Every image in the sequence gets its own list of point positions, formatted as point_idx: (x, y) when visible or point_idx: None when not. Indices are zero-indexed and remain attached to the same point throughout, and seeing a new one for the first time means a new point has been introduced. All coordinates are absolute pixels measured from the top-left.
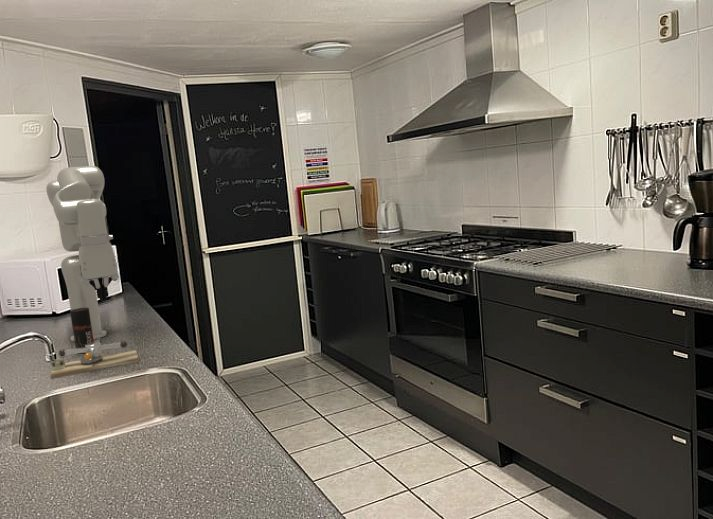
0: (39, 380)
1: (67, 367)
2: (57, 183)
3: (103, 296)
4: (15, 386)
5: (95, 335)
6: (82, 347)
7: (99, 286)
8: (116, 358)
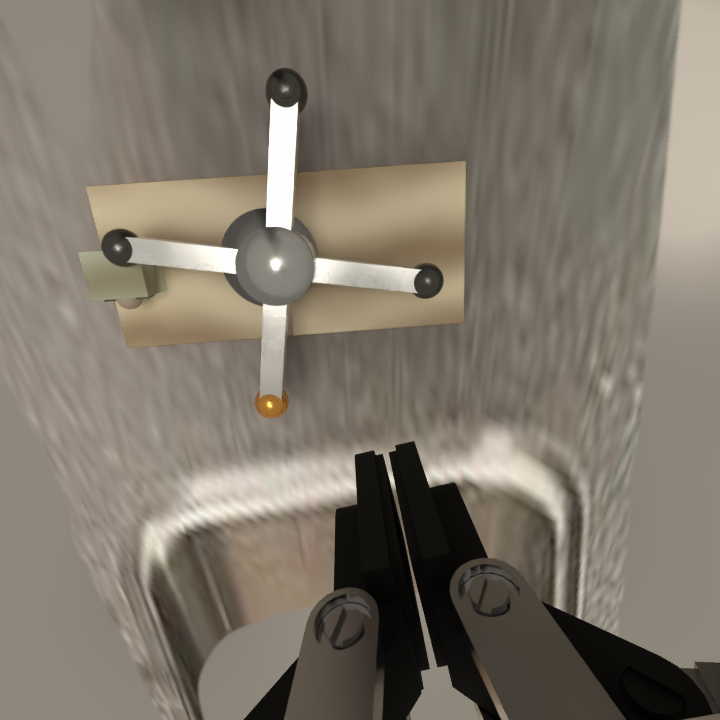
0: (91, 340)
1: (174, 278)
2: None
3: (410, 571)
4: (16, 365)
5: None
6: (220, 250)
7: (399, 710)
8: None
